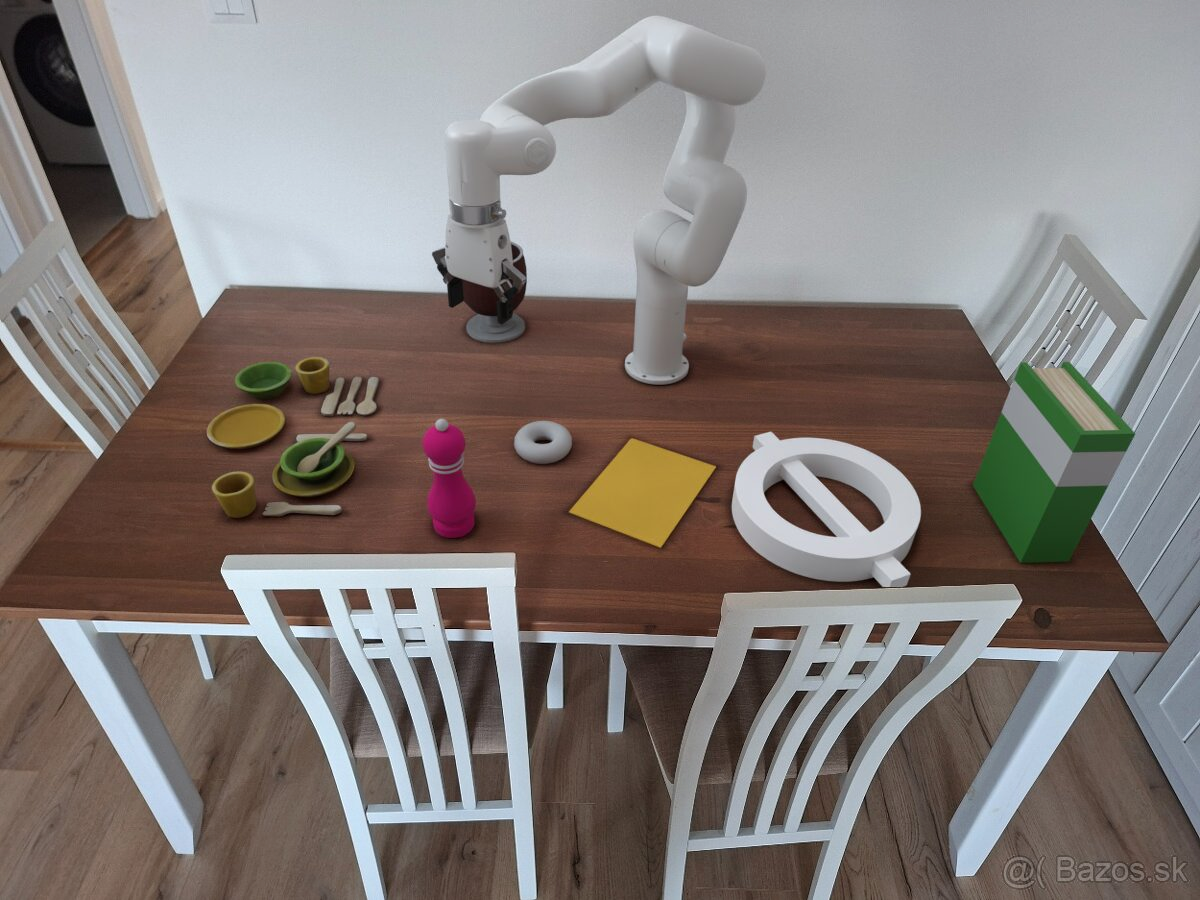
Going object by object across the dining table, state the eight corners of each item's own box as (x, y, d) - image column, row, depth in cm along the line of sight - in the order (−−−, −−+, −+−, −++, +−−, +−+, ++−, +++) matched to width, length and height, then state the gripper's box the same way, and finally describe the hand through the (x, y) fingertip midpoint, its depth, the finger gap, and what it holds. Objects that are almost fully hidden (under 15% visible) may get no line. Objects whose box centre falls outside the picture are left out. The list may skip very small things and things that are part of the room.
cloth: (631, 438, 146) (631, 437, 146) (716, 467, 140) (716, 466, 140) (568, 512, 130) (568, 511, 130) (660, 548, 125) (660, 547, 124)
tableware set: (342, 522, 128) (335, 491, 124) (159, 524, 127) (145, 493, 123) (387, 375, 160) (382, 347, 156) (241, 376, 159) (232, 348, 155)
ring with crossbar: (754, 444, 145) (757, 422, 142) (920, 484, 137) (927, 462, 134) (711, 550, 124) (714, 526, 122) (903, 604, 117) (912, 581, 114)
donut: (555, 475, 138) (582, 441, 145) (555, 459, 136) (581, 425, 143) (503, 458, 141) (531, 426, 148) (502, 442, 139) (531, 410, 146)
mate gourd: (536, 316, 179) (534, 228, 167) (517, 348, 169) (512, 257, 156) (468, 307, 182) (461, 220, 169) (445, 338, 171) (435, 248, 159)
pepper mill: (469, 544, 125) (457, 438, 112) (423, 536, 126) (406, 431, 113) (484, 512, 130) (474, 408, 118) (440, 505, 131) (425, 402, 119)
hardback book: (972, 485, 137) (1020, 362, 122) (1016, 484, 138) (1069, 361, 123) (1020, 562, 124) (1081, 434, 109) (1068, 561, 124) (1135, 433, 109)
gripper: (537, 214, 123) (538, 317, 133) (445, 189, 129) (452, 289, 140) (508, 231, 117) (511, 337, 128) (413, 204, 124) (423, 307, 134)
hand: (480, 312), depth 134 cm, fingers open, 9 cm apart
